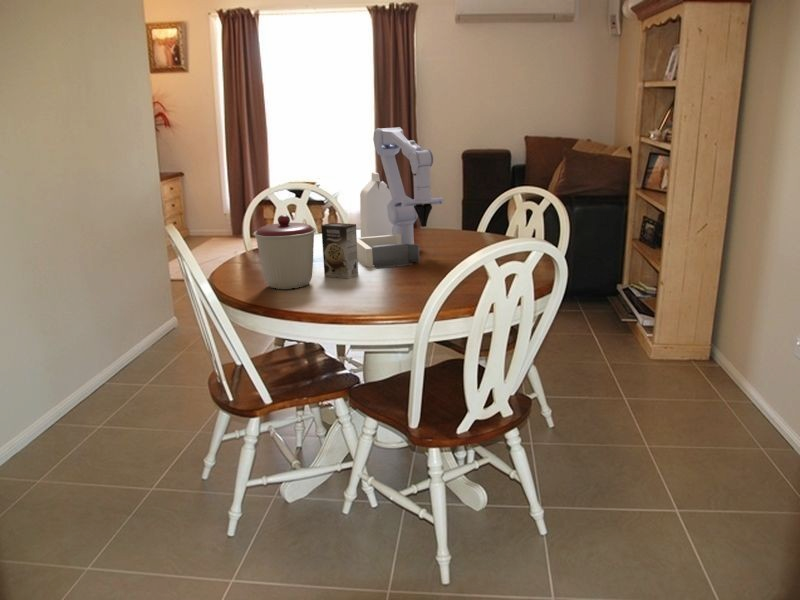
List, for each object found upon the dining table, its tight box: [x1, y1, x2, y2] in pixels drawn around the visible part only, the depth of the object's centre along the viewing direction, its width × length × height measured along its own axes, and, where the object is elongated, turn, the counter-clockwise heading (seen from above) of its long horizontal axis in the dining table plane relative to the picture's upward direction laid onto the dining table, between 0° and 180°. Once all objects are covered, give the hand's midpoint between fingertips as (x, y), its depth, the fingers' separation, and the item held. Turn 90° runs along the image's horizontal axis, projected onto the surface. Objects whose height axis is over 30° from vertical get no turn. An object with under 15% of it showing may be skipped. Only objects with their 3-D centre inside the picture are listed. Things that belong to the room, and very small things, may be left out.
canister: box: [253, 214, 317, 290], centre depth 209 cm, size 18×18×21 cm
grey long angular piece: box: [371, 243, 421, 269], centre depth 233 cm, size 6×16×6 cm, turn 106°
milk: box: [359, 172, 393, 238], centre depth 274 cm, size 12×12×26 cm
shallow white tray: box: [357, 234, 402, 268], centre depth 244 cm, size 22×18×6 cm
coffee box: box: [320, 222, 359, 280], centre depth 220 cm, size 9×6×16 cm
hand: (423, 226), depth 245 cm, fingers closed
